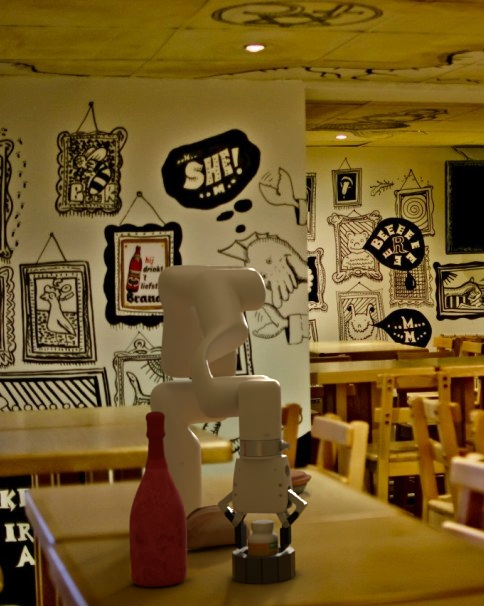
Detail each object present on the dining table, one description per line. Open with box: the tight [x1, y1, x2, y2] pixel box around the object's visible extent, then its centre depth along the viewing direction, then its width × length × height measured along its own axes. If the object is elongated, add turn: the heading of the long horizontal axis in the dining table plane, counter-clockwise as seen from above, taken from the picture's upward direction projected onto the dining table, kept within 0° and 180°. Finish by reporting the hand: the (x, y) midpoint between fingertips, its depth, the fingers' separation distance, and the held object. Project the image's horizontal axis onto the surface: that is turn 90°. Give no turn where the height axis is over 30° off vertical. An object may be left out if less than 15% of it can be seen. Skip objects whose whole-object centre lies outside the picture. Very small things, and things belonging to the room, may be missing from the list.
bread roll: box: [186, 504, 251, 550], centre depth 246 cm, size 10×15×8 cm, turn 130°
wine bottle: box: [128, 411, 188, 588], centre depth 217 cm, size 10×10×30 cm
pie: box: [290, 469, 312, 495], centre depth 308 cm, size 16×16×5 cm
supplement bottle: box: [247, 519, 279, 556], centre depth 220 cm, size 5×5×10 cm
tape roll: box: [231, 544, 296, 585], centre depth 220 cm, size 11×11×4 cm
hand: (263, 547), depth 220 cm, fingers open, 7 cm apart
